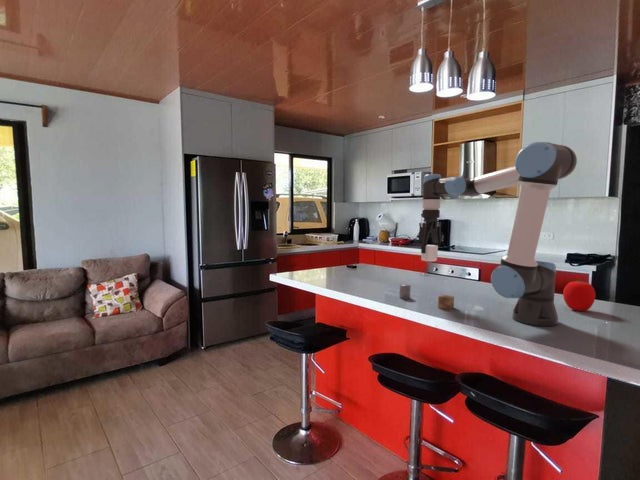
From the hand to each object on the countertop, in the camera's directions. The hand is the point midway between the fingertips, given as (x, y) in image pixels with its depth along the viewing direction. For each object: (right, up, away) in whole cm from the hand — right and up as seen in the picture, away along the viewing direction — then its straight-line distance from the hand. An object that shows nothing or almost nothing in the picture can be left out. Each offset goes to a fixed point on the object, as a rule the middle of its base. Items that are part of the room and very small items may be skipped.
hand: (429, 259), depth 170 cm
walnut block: (+4, -20, -10) cm, 23 cm away
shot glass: (0, -1, 0) cm, 1 cm away
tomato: (+59, -21, -12) cm, 64 cm away
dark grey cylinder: (-10, -18, +7) cm, 22 cm away
